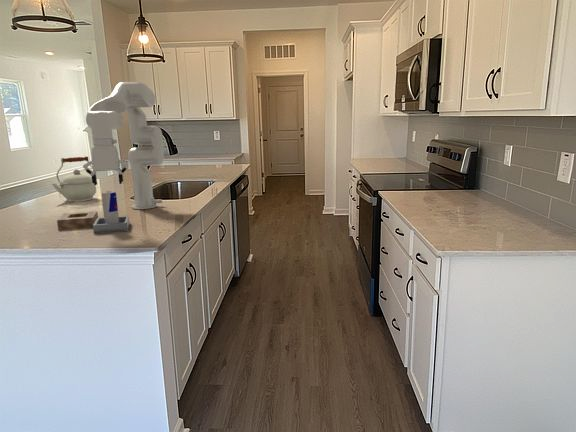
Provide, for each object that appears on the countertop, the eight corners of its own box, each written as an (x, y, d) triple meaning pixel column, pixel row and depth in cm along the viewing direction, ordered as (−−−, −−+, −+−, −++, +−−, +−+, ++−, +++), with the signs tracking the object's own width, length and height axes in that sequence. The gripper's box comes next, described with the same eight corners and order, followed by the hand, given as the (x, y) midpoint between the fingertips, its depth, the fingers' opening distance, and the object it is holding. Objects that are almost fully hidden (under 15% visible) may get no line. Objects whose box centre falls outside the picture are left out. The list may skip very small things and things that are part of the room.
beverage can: (114, 227, 169) (110, 192, 165) (102, 227, 170) (98, 192, 166) (122, 224, 174) (118, 190, 171) (110, 224, 175) (106, 190, 172)
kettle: (91, 195, 251) (86, 155, 245) (105, 198, 239) (101, 156, 233) (48, 201, 232) (41, 158, 226) (61, 205, 220) (55, 159, 215)
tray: (129, 223, 180) (128, 215, 179) (127, 230, 168) (127, 222, 167) (98, 225, 176) (97, 218, 175) (93, 233, 164) (92, 225, 163)
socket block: (98, 219, 188) (97, 211, 187) (94, 226, 175) (93, 217, 174) (64, 221, 184) (63, 213, 183) (58, 229, 171) (56, 220, 170)
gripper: (126, 141, 170) (130, 181, 174) (81, 142, 165) (87, 183, 169) (125, 143, 163) (129, 184, 167) (78, 144, 158) (84, 187, 162)
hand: (108, 184), depth 168 cm, fingers open, 9 cm apart
